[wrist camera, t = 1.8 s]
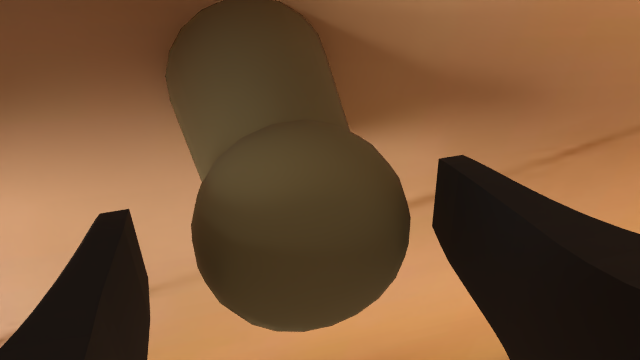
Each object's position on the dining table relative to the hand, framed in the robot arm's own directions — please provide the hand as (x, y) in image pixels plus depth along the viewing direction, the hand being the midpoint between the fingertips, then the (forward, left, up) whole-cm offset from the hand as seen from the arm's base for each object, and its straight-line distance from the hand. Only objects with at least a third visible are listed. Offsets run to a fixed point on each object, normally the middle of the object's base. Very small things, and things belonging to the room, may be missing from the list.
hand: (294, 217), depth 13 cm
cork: (0, 0, -10) cm, 10 cm away
